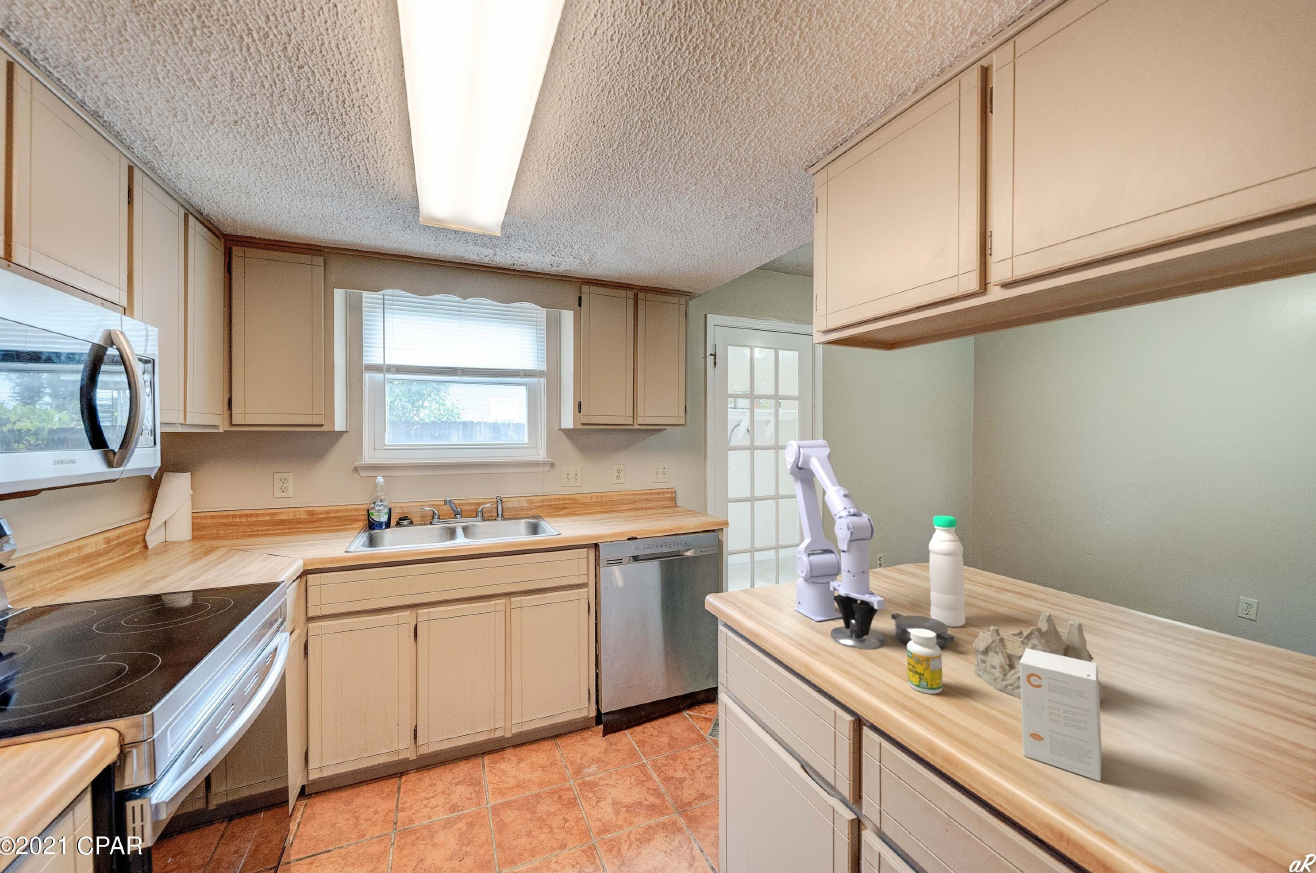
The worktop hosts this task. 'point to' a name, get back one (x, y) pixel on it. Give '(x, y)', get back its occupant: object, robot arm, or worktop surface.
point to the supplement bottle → (924, 662)
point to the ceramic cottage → (1006, 651)
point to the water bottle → (946, 573)
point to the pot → (920, 622)
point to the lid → (856, 637)
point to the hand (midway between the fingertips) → (856, 631)
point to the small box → (1061, 712)
